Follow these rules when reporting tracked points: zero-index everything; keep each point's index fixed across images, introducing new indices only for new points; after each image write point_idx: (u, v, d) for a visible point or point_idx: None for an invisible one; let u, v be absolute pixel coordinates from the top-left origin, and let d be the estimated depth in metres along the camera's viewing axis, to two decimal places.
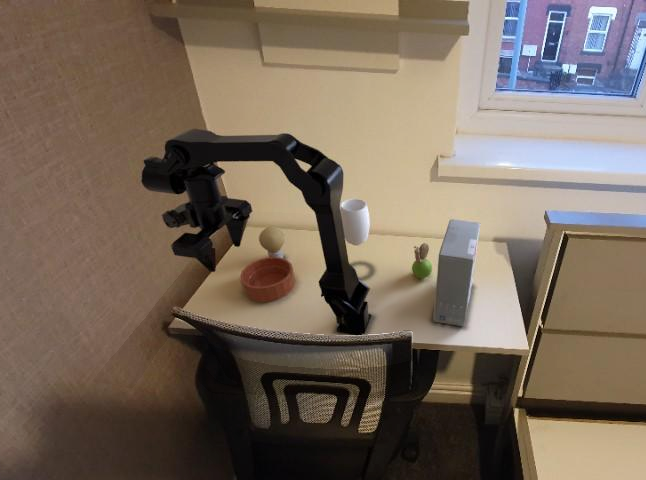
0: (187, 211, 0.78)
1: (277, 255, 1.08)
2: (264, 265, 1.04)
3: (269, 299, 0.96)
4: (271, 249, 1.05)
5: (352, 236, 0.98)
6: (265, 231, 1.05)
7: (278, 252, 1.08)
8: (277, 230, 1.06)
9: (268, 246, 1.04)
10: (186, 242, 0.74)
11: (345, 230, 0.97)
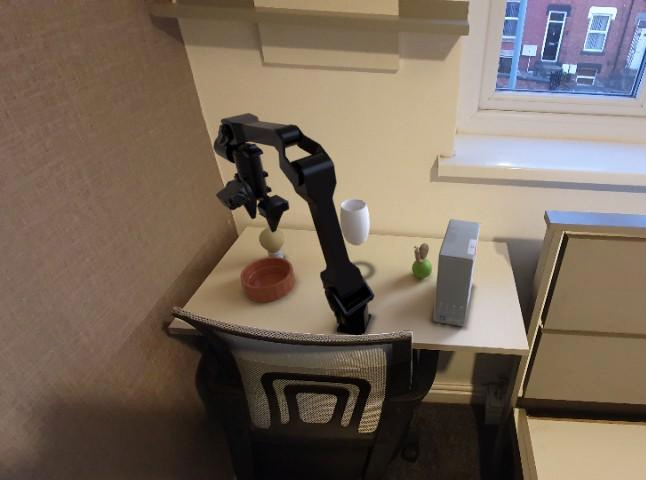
0: (247, 186, 0.91)
1: (277, 255, 1.08)
2: (264, 265, 1.04)
3: (269, 299, 0.96)
4: (271, 249, 1.05)
5: (352, 236, 0.98)
6: (265, 231, 1.05)
7: (278, 252, 1.08)
8: (277, 230, 1.06)
9: (268, 246, 1.04)
10: (275, 201, 0.92)
11: (345, 230, 0.97)
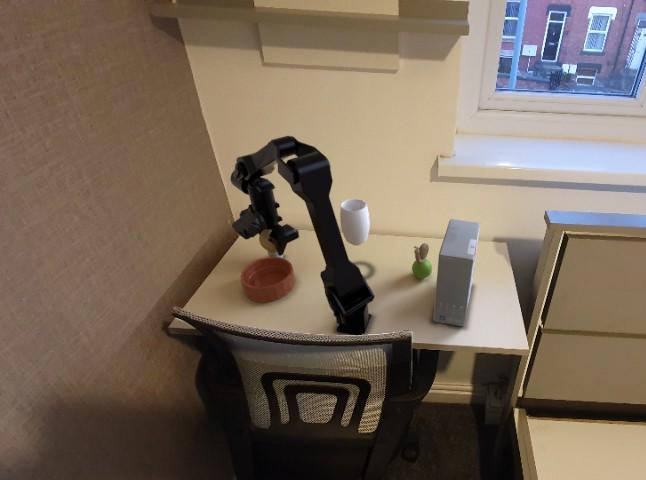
0: (260, 217, 0.98)
1: (277, 255, 1.08)
2: (264, 265, 1.04)
3: (269, 299, 0.96)
4: (271, 249, 1.05)
5: (352, 236, 0.98)
6: (265, 231, 1.05)
7: None
8: None
9: (269, 246, 1.04)
10: (286, 231, 0.99)
11: (345, 230, 0.97)
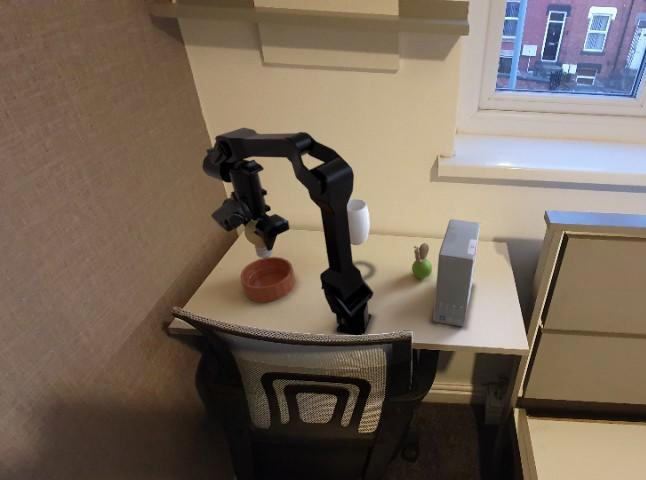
0: (244, 206, 0.85)
1: (265, 250, 0.95)
2: (264, 265, 1.04)
3: (269, 299, 0.96)
4: (258, 243, 0.92)
5: (352, 236, 0.98)
6: (251, 222, 0.91)
7: None
8: None
9: (255, 239, 0.91)
10: (274, 221, 0.86)
11: None
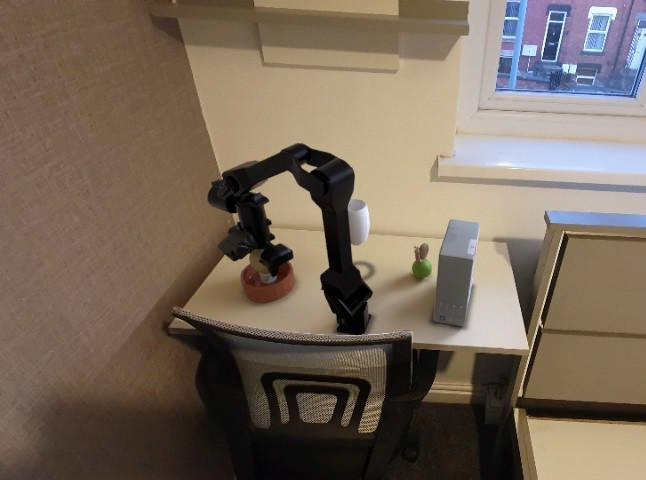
0: (249, 236, 0.88)
1: (270, 277, 0.98)
2: None
3: (269, 299, 0.96)
4: (263, 270, 0.95)
5: (352, 236, 0.98)
6: (256, 251, 0.94)
7: None
8: None
9: (260, 267, 0.94)
10: (279, 251, 0.89)
11: None
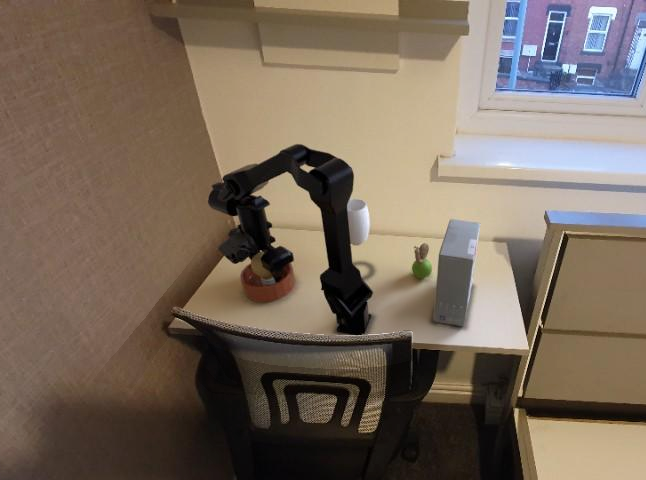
0: (250, 239, 0.88)
1: (271, 281, 0.99)
2: None
3: (269, 299, 0.96)
4: (264, 276, 0.96)
5: (352, 236, 0.98)
6: (257, 256, 0.95)
7: (272, 278, 0.98)
8: None
9: (261, 272, 0.95)
10: (279, 254, 0.89)
11: None
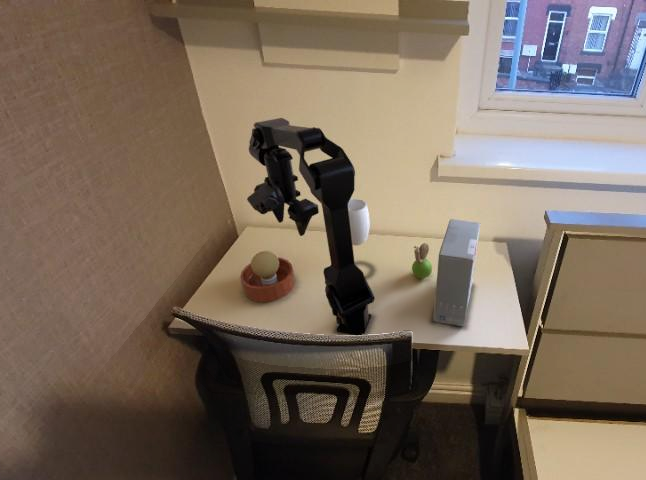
0: (277, 190, 0.92)
1: (271, 281, 0.99)
2: None
3: (269, 299, 0.96)
4: (264, 276, 0.96)
5: (352, 236, 0.98)
6: (257, 256, 0.95)
7: (272, 278, 0.98)
8: (271, 255, 0.96)
9: (261, 272, 0.95)
10: (306, 205, 0.92)
11: None
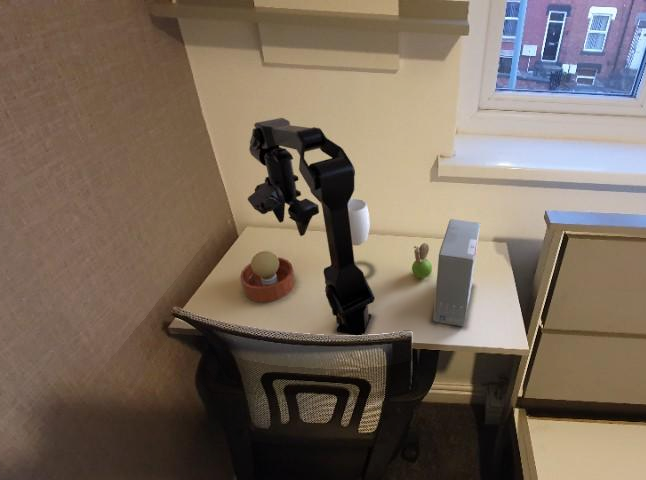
0: (278, 190, 0.92)
1: (271, 281, 0.99)
2: None
3: (269, 299, 0.96)
4: (264, 276, 0.96)
5: (352, 236, 0.98)
6: (257, 256, 0.95)
7: (272, 278, 0.98)
8: (271, 255, 0.96)
9: (261, 272, 0.95)
10: (306, 205, 0.92)
11: None
